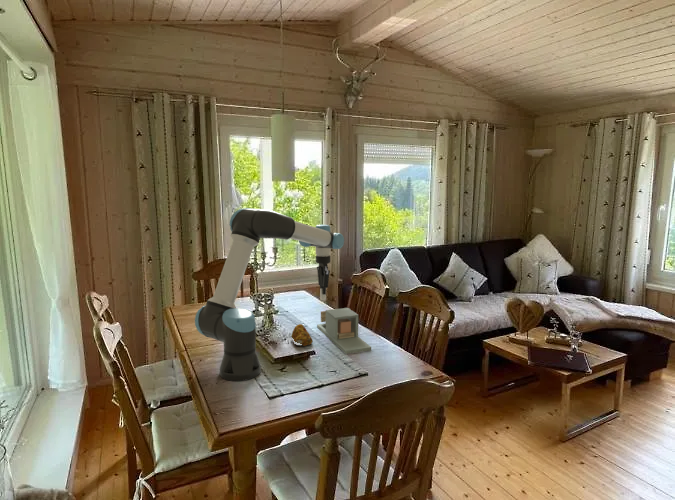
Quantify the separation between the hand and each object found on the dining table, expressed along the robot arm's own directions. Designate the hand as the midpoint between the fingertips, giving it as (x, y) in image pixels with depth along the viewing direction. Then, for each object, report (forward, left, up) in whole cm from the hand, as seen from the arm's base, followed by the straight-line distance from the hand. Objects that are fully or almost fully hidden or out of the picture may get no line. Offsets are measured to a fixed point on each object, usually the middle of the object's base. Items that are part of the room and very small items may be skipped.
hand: (323, 299), depth 220 cm
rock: (-26, +20, -12) cm, 35 cm away
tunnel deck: (-27, 0, -11) cm, 29 cm away
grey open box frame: (-19, 0, -10) cm, 21 cm away
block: (-28, 0, -8) cm, 29 cm away
